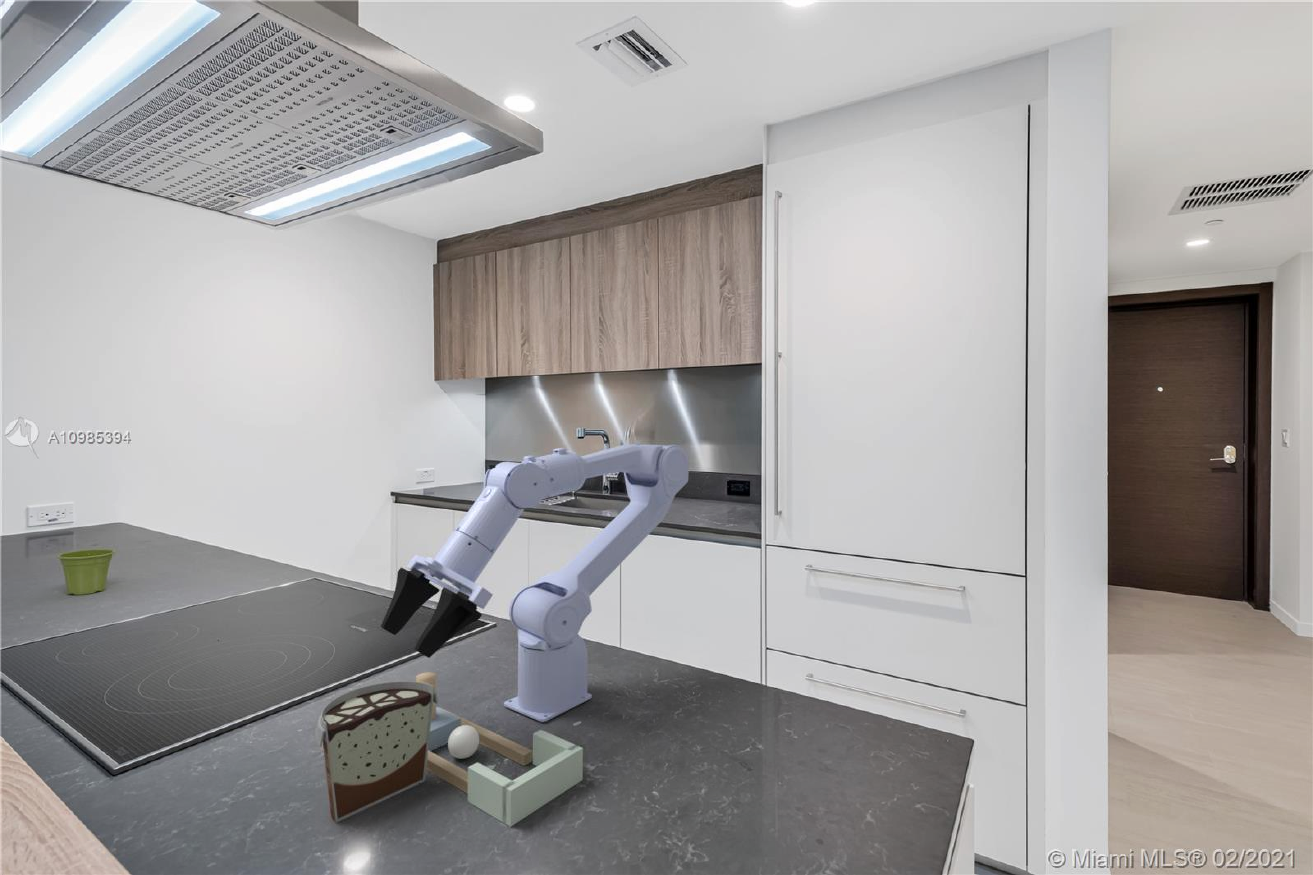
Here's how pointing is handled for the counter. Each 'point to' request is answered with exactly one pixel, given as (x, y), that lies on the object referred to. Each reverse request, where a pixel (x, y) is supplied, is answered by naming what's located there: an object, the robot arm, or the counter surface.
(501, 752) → the lane
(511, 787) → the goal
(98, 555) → the plant pot
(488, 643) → the counter surface
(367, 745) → the food container
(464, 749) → the ball
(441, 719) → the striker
